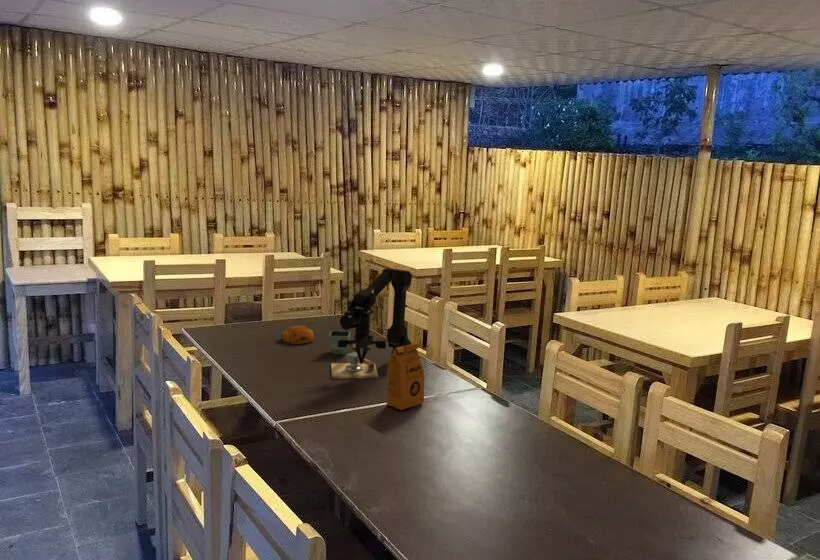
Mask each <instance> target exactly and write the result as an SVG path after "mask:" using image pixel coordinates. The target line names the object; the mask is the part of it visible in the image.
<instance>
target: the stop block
mask: <svg viewBox="0 0 820 560" xmlns="http://www.w3.org/2000/svg"><path fill="white" fill-rule="evenodd" d="M374 363H375V362H372V364H371V365H368V371H374Z"/></svg>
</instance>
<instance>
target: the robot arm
mask: <svg viewBox="0 0 820 560" xmlns="http://www.w3.org/2000/svg"><path fill="white" fill-rule="evenodd" d="M412 279H413V276H412V273H411V272H410V270H404V269H398V268H397V269H394V268H389V267H385V268H384V269H383V270H382V272H381V273H380V274H379V275H378V276H377V277H376V278H375V279H374V280H372V282H371V283H370V285H369V286H368V287H366V288H363V289H361V290H359V291H358V292H357V293H355V294H354V296H353V298H352V300H351V302H350V305H349V306H348V309H347V311H344V312H343V315H342V316H341V317H340V320H339V325H340V327H341V328H342V329H343V331H349V330H352V329H354V339H350V340H349V337H340V338H339V339H338V347H344V348H346V347H347V346H348V347H349V346H352V350H354V351H355V352H356V353H357V354H358V357H359V361H360V364H362V363H363V360H364V359H366V355H367V353H368V351H371V350H372V346H375V347H376V348H377V350H378V349H382V350H385V349H386V348H387V345H388V347H389V348H391V350H390V357H391V356H392V354H393V352H394V349H395V348H398V347H401V346H406V345H411V344H413V343H412V341H411V340H410V339H409V337H408V336H409V335H408V330H407V329H406V326H405V318H406V317H405V314H406V305H407V304H406V303H407V302H406V300H407V291H408V289H410V287H411V284H412ZM389 284H391V286H392V289H393V291H394V293H393V294H394V295H393V307H392V308H393V309H392V311H393V312H392V323H391V326H390V327H389V328H387V329H386V337H384V338H381V337H380V338H379V337H378V338H375V340H374V336H373V335H370V334H371V333H370V332H371V331H370V330H371V314H374V310H373V309H372V308H373V306H374V305H375V303H376V301H377V297H378V296H379V294H381V293H382V291H383V290H384V289H385V288H386V287H387V286H388V285H389ZM361 354H362V356H361Z"/></svg>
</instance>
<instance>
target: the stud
mask: <svg viewBox="0 0 820 560" xmlns="http://www.w3.org/2000/svg"><path fill="white" fill-rule="evenodd" d="M345 370H346V371H349V372H359V371H362V370H363V367H362V366H360V365H358V363H356V364H352V363H350V365H348V366H346V367H345Z"/></svg>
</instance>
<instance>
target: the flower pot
mask: <svg viewBox="0 0 820 560" xmlns="http://www.w3.org/2000/svg"><path fill="white" fill-rule="evenodd" d="M340 337H349V340H351V331H349V330H331V331H330V332H329V334H328V343H329V344H328V345H329V349H330V351H331V353H332V354H333V355H346V354H347V353H346V352H347V350H348V348H349V345H348V346H347V347H346V348H344V347H338V339H339V338H340Z"/></svg>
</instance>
